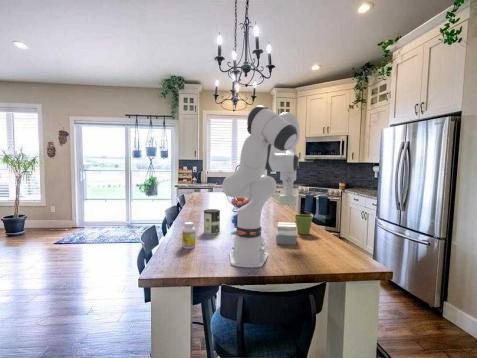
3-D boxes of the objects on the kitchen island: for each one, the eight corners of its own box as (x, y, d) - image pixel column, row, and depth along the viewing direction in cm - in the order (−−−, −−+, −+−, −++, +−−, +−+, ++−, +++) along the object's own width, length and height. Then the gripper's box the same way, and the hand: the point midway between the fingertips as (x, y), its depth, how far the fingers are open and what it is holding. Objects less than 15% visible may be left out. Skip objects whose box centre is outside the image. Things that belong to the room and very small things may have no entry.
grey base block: (296, 245, 147) (296, 236, 147) (276, 244, 148) (276, 235, 148) (294, 239, 158) (294, 231, 158) (275, 238, 159) (276, 230, 159)
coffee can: (220, 230, 175) (220, 209, 174) (219, 234, 165) (219, 212, 164) (204, 230, 175) (204, 208, 174) (202, 234, 165) (202, 211, 164)
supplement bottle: (179, 246, 141) (179, 222, 140) (190, 244, 146) (190, 220, 145) (187, 250, 136) (187, 225, 135) (197, 247, 141) (197, 223, 140)
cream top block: (295, 236, 147) (296, 227, 147) (277, 234, 149) (277, 226, 149) (295, 231, 157) (295, 222, 157) (277, 230, 159) (278, 222, 158)
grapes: (232, 232, 170) (232, 214, 169) (231, 230, 177) (231, 212, 176) (250, 232, 172) (250, 213, 171) (248, 229, 178) (249, 211, 177)
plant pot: (315, 232, 172) (316, 215, 172) (309, 236, 163) (309, 218, 162) (298, 229, 179) (298, 213, 178) (290, 233, 169) (291, 216, 168)
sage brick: (296, 205, 148) (296, 196, 148) (279, 204, 149) (280, 195, 149) (295, 203, 154) (295, 195, 154) (279, 203, 155) (279, 194, 155)
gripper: (295, 178, 140) (295, 204, 141) (292, 176, 160) (291, 199, 161) (283, 178, 141) (283, 204, 142) (281, 176, 161) (281, 198, 162)
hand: (287, 201), depth 152 cm, fingers closed on sage brick, 6 cm apart
